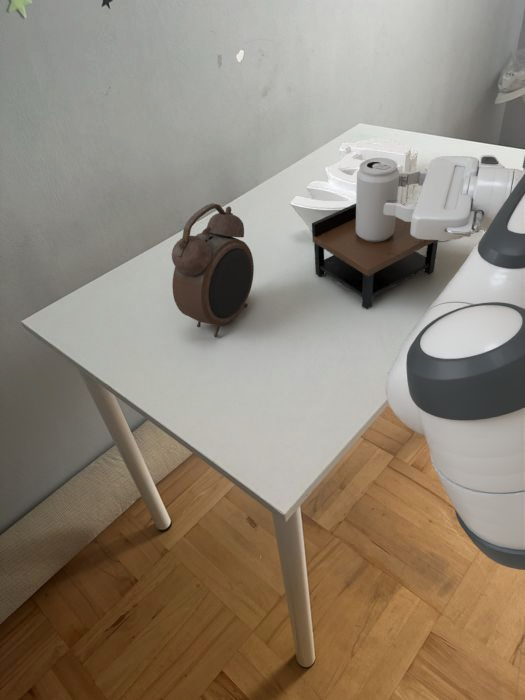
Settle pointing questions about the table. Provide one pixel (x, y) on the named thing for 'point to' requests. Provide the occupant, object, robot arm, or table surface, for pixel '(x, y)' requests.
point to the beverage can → (375, 198)
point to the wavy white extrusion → (351, 178)
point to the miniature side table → (368, 255)
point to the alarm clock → (212, 269)
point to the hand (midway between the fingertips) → (390, 192)
